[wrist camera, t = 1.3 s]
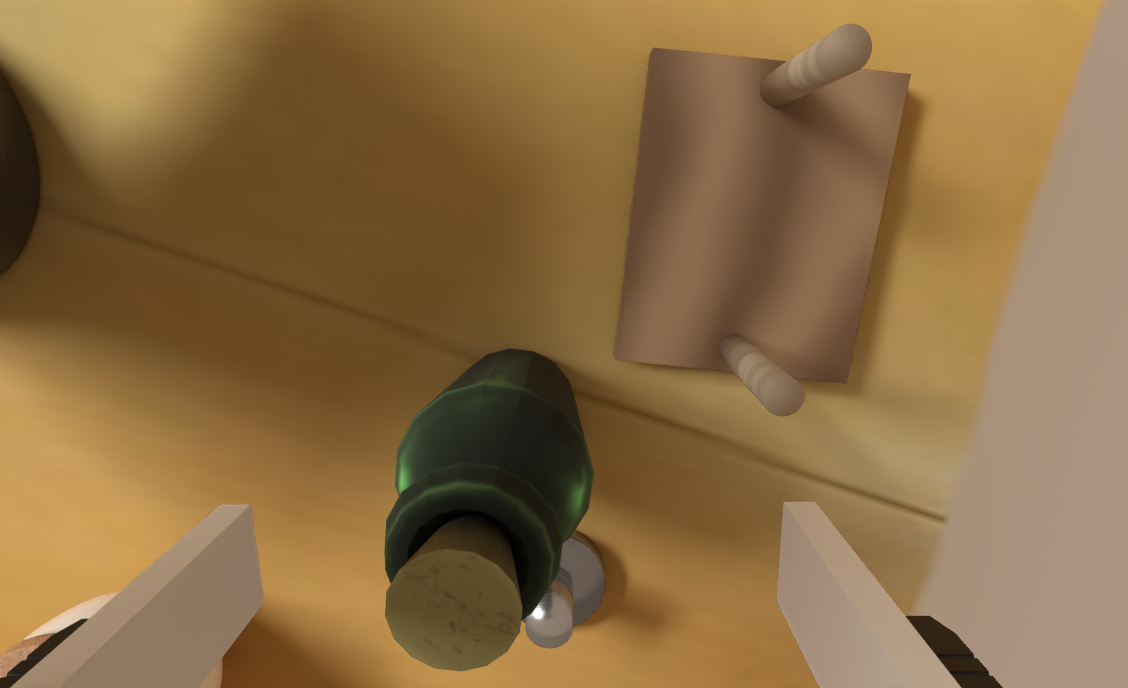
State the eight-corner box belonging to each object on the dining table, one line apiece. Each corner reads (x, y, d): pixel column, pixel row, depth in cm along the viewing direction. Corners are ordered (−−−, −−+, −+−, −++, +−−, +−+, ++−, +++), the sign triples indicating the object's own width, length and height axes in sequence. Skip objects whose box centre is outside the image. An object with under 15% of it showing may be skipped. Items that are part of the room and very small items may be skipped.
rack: (613, 353, 34) (626, 410, 25) (649, 55, 31) (680, -7, 22) (834, 375, 34) (929, 441, 25) (895, 80, 31) (1030, 29, 22)
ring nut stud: (498, 611, 38) (486, 672, 33) (506, 520, 37) (494, 569, 32) (597, 621, 38) (600, 683, 33) (609, 530, 37) (614, 581, 32)
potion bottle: (412, 412, 35) (249, 623, 18) (505, 302, 34) (427, 414, 16) (525, 500, 36) (476, 782, 19) (620, 397, 35) (663, 600, 17)
